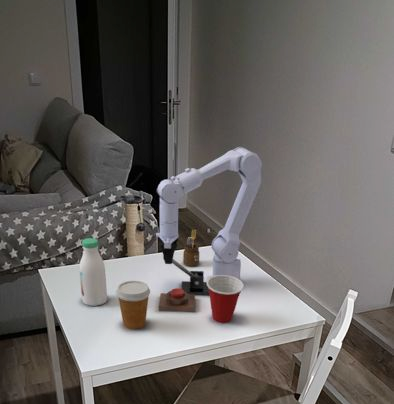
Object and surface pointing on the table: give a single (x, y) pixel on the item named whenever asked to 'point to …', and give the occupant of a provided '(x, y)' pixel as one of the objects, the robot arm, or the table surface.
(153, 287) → the table surface
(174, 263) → the lever
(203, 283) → the bracket
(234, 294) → the plastic cup
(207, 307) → the table surface
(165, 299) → the button block
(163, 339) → the table surface
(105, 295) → the milk bottle
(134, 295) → the disposable coffee cup
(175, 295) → the button
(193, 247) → the utensil holder
